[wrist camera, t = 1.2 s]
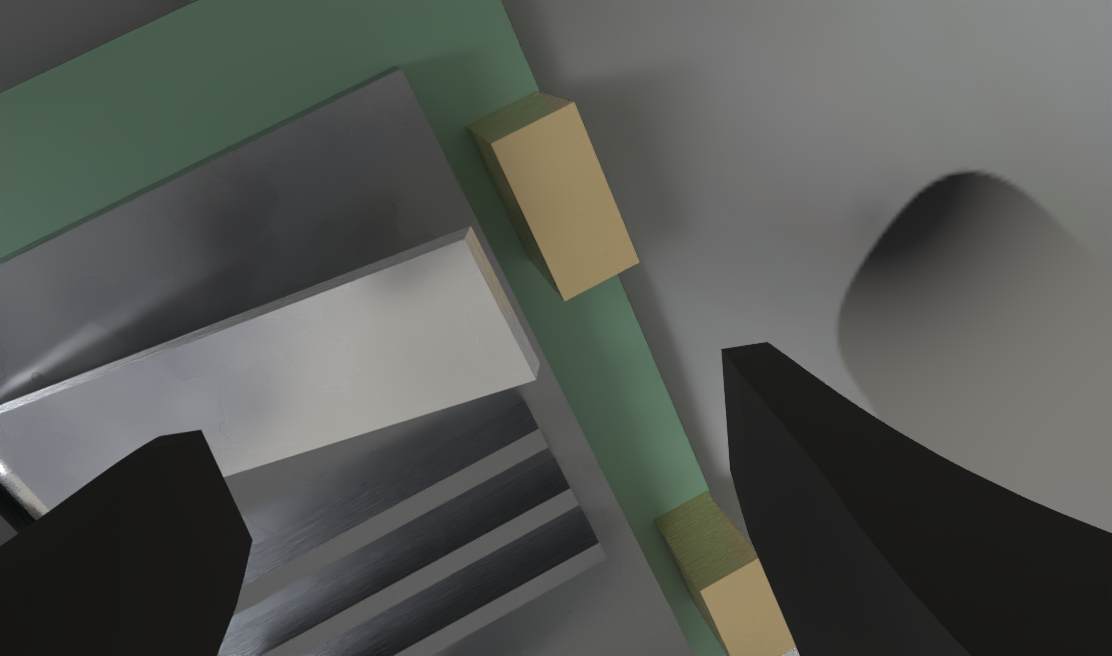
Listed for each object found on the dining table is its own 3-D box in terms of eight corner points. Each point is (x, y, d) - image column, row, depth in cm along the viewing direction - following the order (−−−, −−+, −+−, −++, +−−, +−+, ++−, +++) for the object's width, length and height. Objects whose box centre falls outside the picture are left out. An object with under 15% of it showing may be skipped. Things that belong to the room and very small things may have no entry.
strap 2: (62, 511, 18) (39, 536, 18) (-28, 414, 17) (-56, 436, 16) (540, 359, 15) (535, 383, 14) (471, 224, 14) (462, 241, 13)
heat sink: (351, 841, 27) (353, 952, 24) (-136, 324, 18) (-243, 389, 14) (757, 610, 28) (812, 686, 25) (502, 12, 19) (536, 8, 16)
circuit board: (355, 879, 29) (355, 906, 28) (-279, 229, 17) (-313, 240, 16) (769, 643, 30) (782, 661, 29) (444, -112, 18) (450, -119, 18)
